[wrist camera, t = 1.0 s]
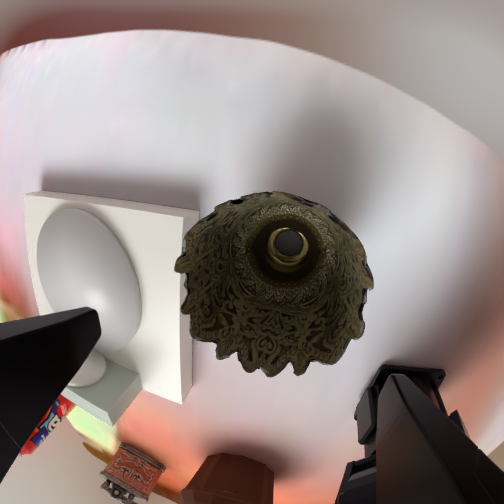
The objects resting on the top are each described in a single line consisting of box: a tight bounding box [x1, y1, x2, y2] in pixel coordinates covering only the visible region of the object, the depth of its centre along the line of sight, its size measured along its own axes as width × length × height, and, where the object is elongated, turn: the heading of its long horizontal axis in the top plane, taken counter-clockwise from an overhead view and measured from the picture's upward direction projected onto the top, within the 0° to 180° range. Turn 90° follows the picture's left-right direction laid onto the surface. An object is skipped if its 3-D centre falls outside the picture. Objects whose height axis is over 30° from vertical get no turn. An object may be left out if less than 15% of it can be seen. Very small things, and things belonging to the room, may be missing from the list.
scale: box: [23, 191, 200, 426], centre depth 18 cm, size 18×16×8 cm
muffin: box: [179, 453, 274, 504], centre depth 22 cm, size 12×11×10 cm
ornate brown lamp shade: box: [174, 191, 374, 377], centre depth 13 cm, size 8×7×8 cm
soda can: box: [19, 394, 76, 457], centre depth 23 cm, size 8×8×15 cm
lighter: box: [100, 443, 166, 504], centre depth 27 cm, size 8×3×10 cm, turn 67°
